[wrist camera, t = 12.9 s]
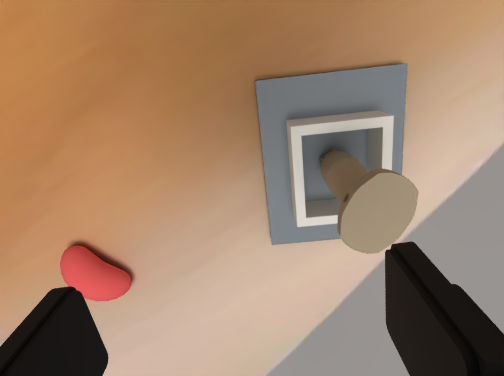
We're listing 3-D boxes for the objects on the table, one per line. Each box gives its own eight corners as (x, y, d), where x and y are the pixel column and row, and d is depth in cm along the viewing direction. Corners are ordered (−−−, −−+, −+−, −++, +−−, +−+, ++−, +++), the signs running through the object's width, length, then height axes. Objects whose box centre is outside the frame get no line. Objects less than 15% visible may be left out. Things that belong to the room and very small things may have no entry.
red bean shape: (108, 290, 48) (114, 318, 42) (47, 266, 42) (46, 294, 37) (130, 262, 48) (139, 285, 43) (73, 234, 43) (76, 258, 38)
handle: (301, 177, 38) (327, 238, 24) (327, 127, 36) (372, 162, 22) (337, 193, 39) (383, 262, 25) (364, 145, 37) (432, 189, 23)
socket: (255, 80, 36) (255, 82, 30) (401, 63, 35) (428, 62, 30) (271, 239, 43) (273, 264, 37) (394, 227, 42) (415, 252, 36)
